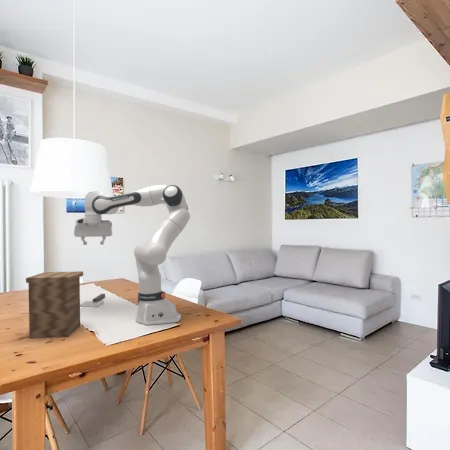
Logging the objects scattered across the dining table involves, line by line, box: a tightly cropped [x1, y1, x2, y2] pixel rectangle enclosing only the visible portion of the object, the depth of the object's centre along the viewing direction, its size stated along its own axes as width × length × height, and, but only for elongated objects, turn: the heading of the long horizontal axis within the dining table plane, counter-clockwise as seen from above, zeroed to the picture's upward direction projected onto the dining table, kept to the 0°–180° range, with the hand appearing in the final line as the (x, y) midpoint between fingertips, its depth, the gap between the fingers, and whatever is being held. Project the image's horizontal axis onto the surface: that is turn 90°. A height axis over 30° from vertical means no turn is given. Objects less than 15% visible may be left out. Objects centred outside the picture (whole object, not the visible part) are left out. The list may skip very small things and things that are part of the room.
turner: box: [80, 293, 106, 308], centre depth 196 cm, size 11×25×2 cm, turn 2°
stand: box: [25, 270, 84, 339], centre depth 143 cm, size 18×16×26 cm
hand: (93, 244), depth 178 cm, fingers open, 8 cm apart
